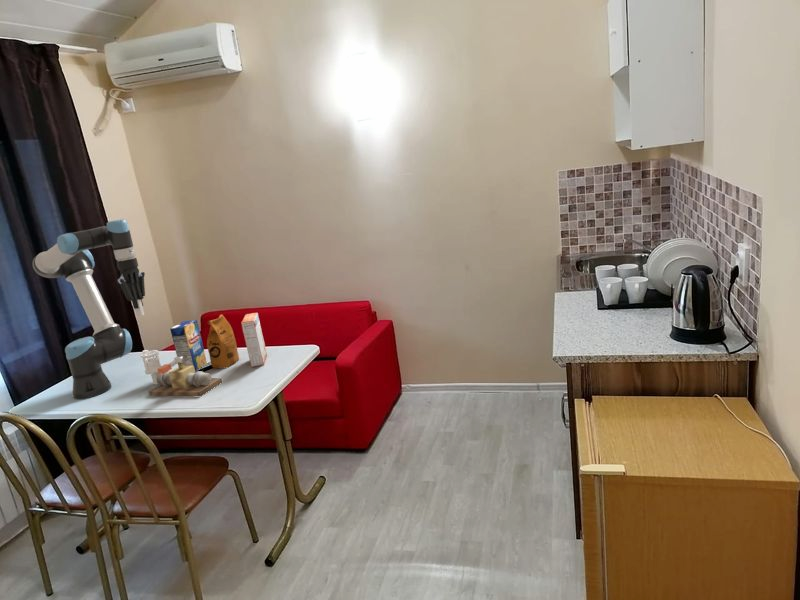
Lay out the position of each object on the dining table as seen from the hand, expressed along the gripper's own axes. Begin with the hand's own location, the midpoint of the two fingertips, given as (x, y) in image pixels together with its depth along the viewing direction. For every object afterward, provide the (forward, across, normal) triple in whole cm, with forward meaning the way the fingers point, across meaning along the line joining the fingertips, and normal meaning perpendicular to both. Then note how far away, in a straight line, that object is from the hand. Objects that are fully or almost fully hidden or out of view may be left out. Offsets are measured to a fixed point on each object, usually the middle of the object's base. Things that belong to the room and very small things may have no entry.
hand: (140, 315), depth 242 cm
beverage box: (+33, +20, -2) cm, 38 cm away
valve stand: (+32, 0, -14) cm, 35 cm away
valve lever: (+20, -5, -15) cm, 26 cm away
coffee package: (+33, +28, -13) cm, 45 cm away
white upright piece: (+33, +6, +7) cm, 34 cm away
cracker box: (+33, +31, -29) cm, 54 cm away
